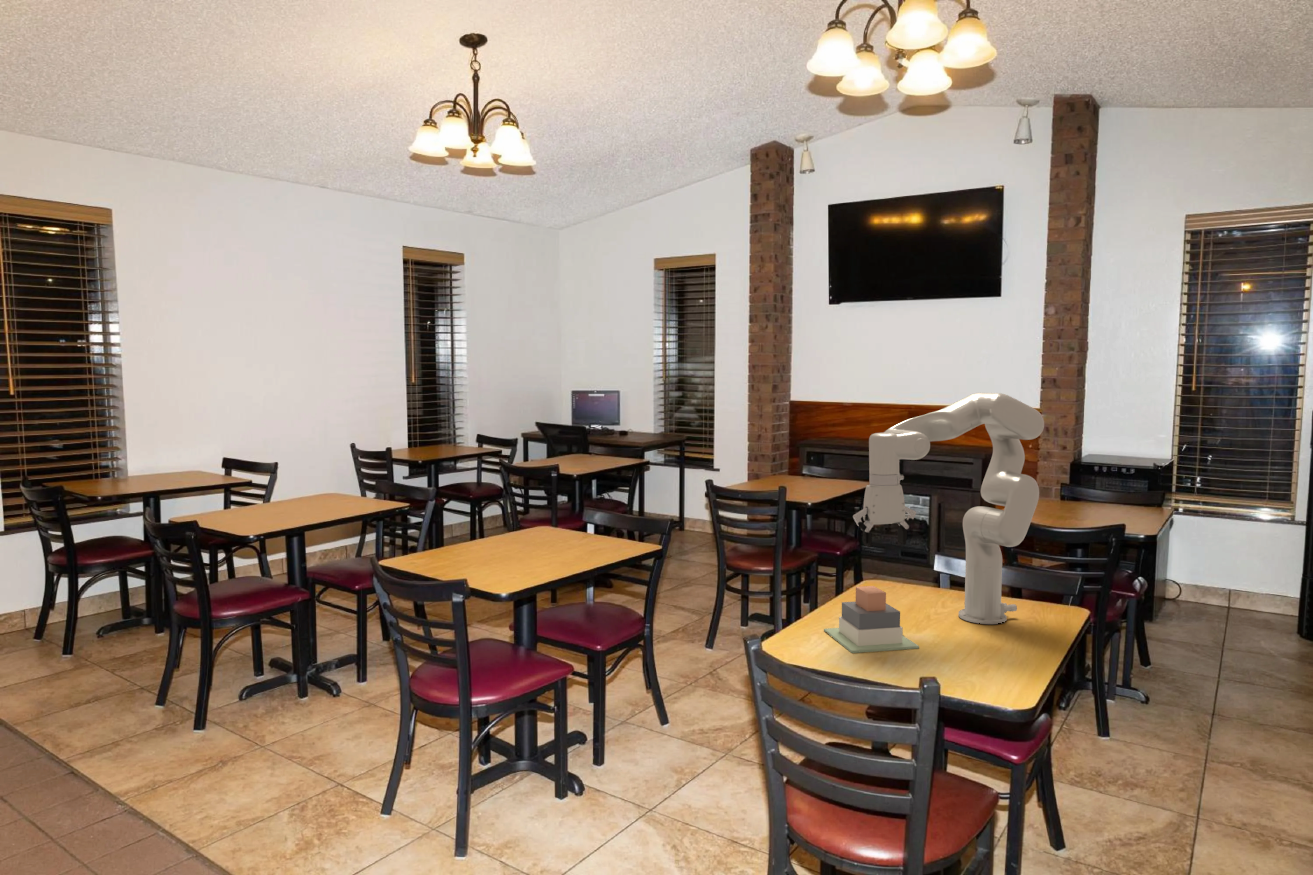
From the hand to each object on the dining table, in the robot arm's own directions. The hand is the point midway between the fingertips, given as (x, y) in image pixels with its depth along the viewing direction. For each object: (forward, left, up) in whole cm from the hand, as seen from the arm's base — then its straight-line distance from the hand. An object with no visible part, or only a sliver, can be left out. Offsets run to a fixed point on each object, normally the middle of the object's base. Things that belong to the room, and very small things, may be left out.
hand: (885, 544), depth 215 cm
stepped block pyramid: (+5, +3, -24) cm, 25 cm away
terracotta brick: (+5, +3, -15) cm, 17 cm away
